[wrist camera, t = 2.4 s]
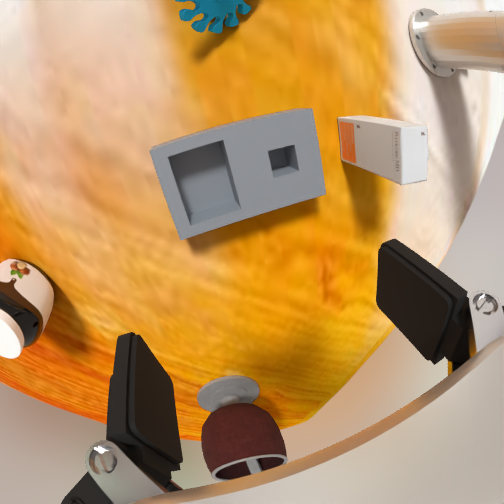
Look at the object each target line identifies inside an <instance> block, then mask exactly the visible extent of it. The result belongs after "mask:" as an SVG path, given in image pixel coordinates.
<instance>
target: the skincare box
mask: <svg viewBox="0 0 504 504" xmlns="http://www.w3.org/2000/svg"><path fill="white" fill-rule="evenodd" d="M337 119H338V126H339V136H340V149H341V160H342V161H344V162H347V163H349V164H352V165H355V166H357V167H360V168H362V169H365V170H367V171H370V172H372V173H375V174H377V175H379V176H382V177H384V178H386V179H389V180H391V181H393V182H395V183H398V184H400V185H405V184H411V183H416V182H422V181H426V180H427V164H428V132H427V126H426V125H421V124H415V123H410V122H405V121H399V120H393V119H386V118H379V117H371V116H348V117H338V118H337Z"/></svg>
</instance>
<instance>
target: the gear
mask: <svg viewBox="0 0 504 504" xmlns="http://www.w3.org/2000/svg"><path fill="white" fill-rule="evenodd" d="M175 1H178V2H185V1H192V2H194V3H195V4H196V7H195V9H194V10H190V9H182V10H180V11H179V15H180V19H181V20H183V21H190V20H191V19H192V18H193V17H194V16H196V15H198V14H200V13H203V14H204V17H203V19H202V20H198V21H195V22H193V23H192V25H191V26H192V28H193V29H194V30H195V31H197V32H201V33H202V32H203V31H205V29H206V27H207V25H208V23H209V22H210V21H211V20H212V19H213V18H214V17H216V19H215V21H214V22H213V23H212V24H211V25H210V26H209V27H208V31H211V32H214V33H221V32H222V30H223V27H222V25H223V20H224V18H225V17H226V15H227V14H228V16H227V18H226V20H225V25H226V26H229V27H233V26H236V25H238V23H239V21H238V19H237V17H236V6H237V5H238V8H237V11H238V13H240V14H247V13H248V12H249V11H250V10H251V7H250V6H249V5H247V4H246V3H245V2H244V1H243V0H175Z"/></svg>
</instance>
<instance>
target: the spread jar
mask: <svg viewBox="0 0 504 504" xmlns="http://www.w3.org/2000/svg"><path fill="white" fill-rule="evenodd" d="M53 301H54V292H53V287H52V285H51V283H50V281H49V279H48V278H47V276H46V275H45V274H44V273H43V271H42V270H41V269H40V268H38V267H37V266H36V265H34V264H33V263H31V262H28V261H26V260H22V259H7V260H5V261H3V262H2V263H1V264H0V355H1V356H3V357H6V358H16V357H18V356H19V355H20V353H21V351H22V348H25V347H29V346H31V345H33V344H35V343H36V342H37V341H38V339H39V338H40V336H41V334H42V332H43V330H44V328H45V326H46V323H47V321H48V319H49V316H50V314H51V310H52V307H53Z"/></svg>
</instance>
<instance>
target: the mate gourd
mask: <svg viewBox="0 0 504 504" xmlns="http://www.w3.org/2000/svg"><path fill="white" fill-rule="evenodd" d="M258 395H259V387H258V384H257V383H256V381H254V380H253V379H251V378H249V377H245V376H226V377H221V378H218V379H215V380H212V381H210V382H208V383H207V384H205V385H204V386H203V387H202V388H201V389H200V390H199V392H198V394H197V400H198V403H199V405H200V406H201V407H202V408H204V409H206V410H208V411H211V412H212V413H211V414H210V415H209V417H208V418H207V420H206V421H205V423H204V425H203V426H202V435H201V441H202V451H203V455H204V459H205V462H206V464H207V467H208V469H209V471H210V472H211V476H212V478H214V479H216V480H218V481H229V480H233V479H237V478H241V477H245V476H248V475H252V474H255V473H259V472H262V471H265V470H269V469H272V468H275V467H278V466H281V465H284V464H286V463H287V461H288V459H287V455H286V449H285V444H284V440H283V437H282V435H281V433H280V430H279V427H278V426H277V424H276V423H275V421H274V419H273V418H272V417H271V415H270V414H269V413H268V412H267V411H265V410H263V409H262V408H260V407H258V406H256V405H254V404H251V403H252V402H253V401H254V400H255V399H256V398H257V397H258Z"/></svg>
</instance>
